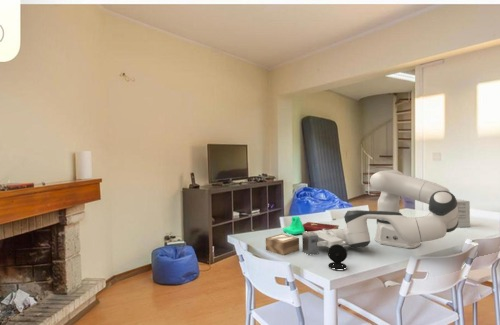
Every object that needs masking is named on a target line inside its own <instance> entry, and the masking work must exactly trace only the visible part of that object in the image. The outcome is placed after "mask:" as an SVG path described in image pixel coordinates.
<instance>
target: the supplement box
mask: <svg viewBox="0 0 500 325" xmlns="http://www.w3.org/2000/svg"><path fill="white" fill-rule="evenodd" d="M456 200H457V207H458V212H459V217H458V226H457V228H471V212H470V211H471V210H470V209H471V208H470V207H471V205H470V204H471V203H470V201H469V200H465V199H458V198H456Z"/></svg>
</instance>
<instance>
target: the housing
mask: <svg viewBox="0 0 500 325" xmlns="http://www.w3.org/2000/svg"><path fill="white" fill-rule="evenodd" d="M301 235H302V237H301V238H302V241H301V242H302V253H303V252H304V253H303V254H305V253H306V255H307V254H308V255H307V256H311V255H310V254H314V255H318V254H319V246H317V245H316V242H318V235H317V233H315V232H312V231H309V232H303V233H301ZM317 253H318V254H317Z"/></svg>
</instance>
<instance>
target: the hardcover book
mask: <svg viewBox="0 0 500 325" xmlns="http://www.w3.org/2000/svg"><path fill="white" fill-rule="evenodd" d="M302 225H303V227H304V230H305V231H307V232H309V231H312V232H313V231H319V230H322V229H339V227H340V225H337V224H329V223H321V222H320V223H319V222H310V221H306V222H305V223H302Z"/></svg>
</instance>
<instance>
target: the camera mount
mask: <svg viewBox="0 0 500 325" xmlns="http://www.w3.org/2000/svg"><path fill="white" fill-rule="evenodd" d="M282 230H283V231H284V232H285V233H286V234H287V233H288V234H287V235H290V234H292V235H300V234H303V232H305V230H304V227H303V223H302V220H301V218H300V216H298V215H297V216H292V217H291V223H290V226H287V227H283V229H282Z"/></svg>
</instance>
